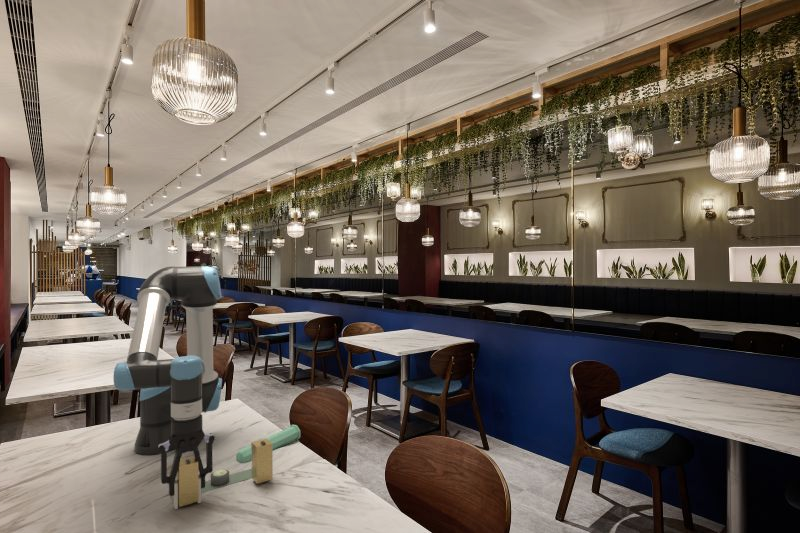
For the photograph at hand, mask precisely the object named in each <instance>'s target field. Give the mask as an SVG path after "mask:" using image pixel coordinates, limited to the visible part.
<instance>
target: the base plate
mask: <svg viewBox="0 0 800 533" xmlns="http://www.w3.org/2000/svg"><path fill="white" fill-rule="evenodd" d="M250 479H251V480H252V468H248V469H246V470H242V471H237V472H234V473H231V474H230V471H229V470H227V469H218V470H216V471H212V472H211V473H210V479H209V480H205V488H202V489H201V494H202V493H205V492H208V491H213V490H217V489H220V488H223V487H227V486H229V485H234V484H236V483H239V482H244V481H246V480H247V481H248V480H250ZM169 497H170V499H171V501H172V502H174V496H170V495H169Z"/></svg>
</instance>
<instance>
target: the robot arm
mask: <svg viewBox="0 0 800 533" xmlns="http://www.w3.org/2000/svg"><path fill="white" fill-rule="evenodd" d="M219 276H220V275H219V271H218V269H217V268H216V267H213V266H204V265H198V266H196V265H195V266H190V265H189V266H166V267H164V268H160V269H158V270H156V271H155V272H153V273H151V275H149V276H148V277H147V278H146V279H145V280H144V281H143V283H142V284H141V286H140V287H139V289H138V293H137V297H136V299H137V300H136V301H137V303H138V304H139V305H138V308H137V312H136V313H137V314H136V318H135V322H134V325H133V331H132V335H131V341H130V344H129V348H128V353H127V357H126V361H123V362H119V363H117V364H116V365H115V367H114V370H113V385H114V388H115V389H116V390H118V391H135V390H140V393H139V399H138V400H139V421H140V422H139V424H140V425H139V430H138V433H137V436H136V439H135V440H134V453H137V454H138V455H145V456H146V455H148V456H149V455H151V456H152V455H156V454H157V455H158V454H160V480H161V483H162V484H163V485H164V484H167V485H168V493H169V494H168V495H169V497H170V496H174V501H173V508H174V510H177V509H179V505H178V482H177V479H176V475H177V471H178V465H179V463H180V459H182V456H183V454H185V453H187V452H193V456H195V459H196V461H198V489H199V501H198V502H197V504H201V503H202V493H201V489H202V488H205V481H206V476H207V475H208V474H212V473H213V472H214V471H213V466H214V465H213V463H214V462H213V444H214V441H215V435H214V434H213V433H212V432H210V433H209V434H208V433H205V432H204V430H203V415H202V413H205V414H206V413H207V412H214V411H216V410H218V409H219V407H220V402H221V394H222V387H223V386H222V385H223V379H222V377H221V378H220V377H219V373H218V372H217V371H215V370H214V327H213V325H214V324H213V323H214V320H213V314H214V313H213V312H214V310H213V309H214V307H215V306H216V305H218V300H220V299H222V290H221V289H222V288H221V282H220V277H219ZM171 301H180V305H181V307H182V308H183V309H185V316H186V317H185V318H186V320H185V321H186V324H185V325H186V355H185V356H178V357H175V358H170V359H169V358H167V359H158V356H159V352H160V347H161V346H160V345H161V339H162V332H163V326H164V321H165V315H166V314H165V313H166V308H167V306H169V304H170V303H171ZM203 440H204V442H205V444H206V445H205V446H206V447H205V449H206V450H205V451H206V452H205V453H206V456H205V457H206V459H205V461H206V467H204V465H203V460H202V457H201V455H200V451H199V448H198V447H199V446H200V445H201V443H202V441H203ZM173 450H175V451H174V456H173V461H172V465H171V469H170V472H169V476H168V472H167V471H168V461H167V460H168V456H167V455H168V454H167V452H169V451H173Z"/></svg>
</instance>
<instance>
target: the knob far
mask: <svg viewBox="0 0 800 533" xmlns="http://www.w3.org/2000/svg"><path fill="white" fill-rule="evenodd" d="M250 445H251V447H252V460H251V469H252V478H251V480H253V481H254V483H256V484H264V483H266V481H271V480H273V478H274V476H273V474H274V473H273V467H274V466H273V450H272V443H271V442H270V441H269V440H268V439H265V438H263V439H259V440H256V441H251V444H250Z"/></svg>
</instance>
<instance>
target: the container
mask: <svg viewBox="0 0 800 533" xmlns="http://www.w3.org/2000/svg"><path fill="white" fill-rule="evenodd" d="M301 435H302V434H301V430H300V428H299V426H298V425H297V424H291V425H290V426H289V427H287V428H285V429H283V430H281V431H279V432H277V433H274V434H272V435H269V436H267V437H265V438H264V439H268V440H269V441H270V442H271V443H272V451H273V450H278V449H280V448H282V447H285V446H286V445H288V444H290V443H292V442H294V441H295V442H296V441H299V439H300V438H301ZM235 460H236V461H237V462H239V463H243V464H244V463H248V462H250V461H252V447H251V444H250V445H247V446H245V447H243V448H241V449H239V451H238V452H237V453H236V455H235Z"/></svg>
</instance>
